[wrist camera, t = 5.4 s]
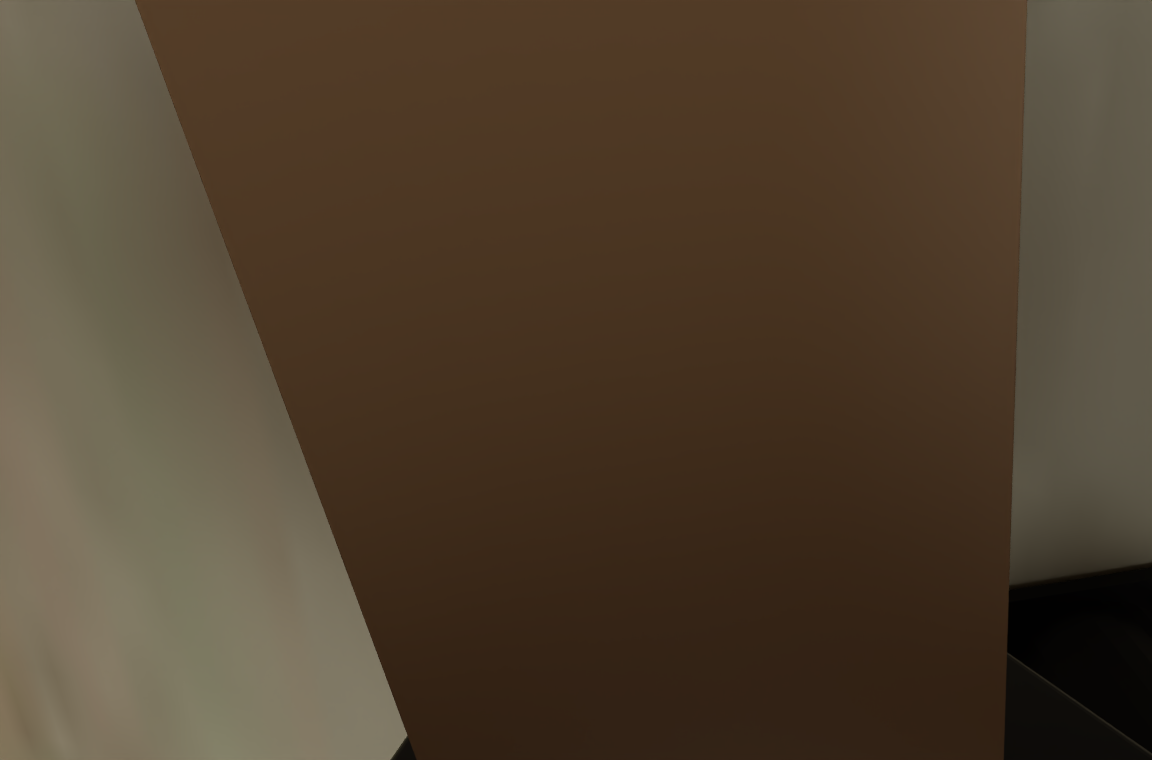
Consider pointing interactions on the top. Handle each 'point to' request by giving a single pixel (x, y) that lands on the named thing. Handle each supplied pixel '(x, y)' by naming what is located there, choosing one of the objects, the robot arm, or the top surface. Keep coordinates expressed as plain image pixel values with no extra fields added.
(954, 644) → the brown rectangular block
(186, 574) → the top surface
